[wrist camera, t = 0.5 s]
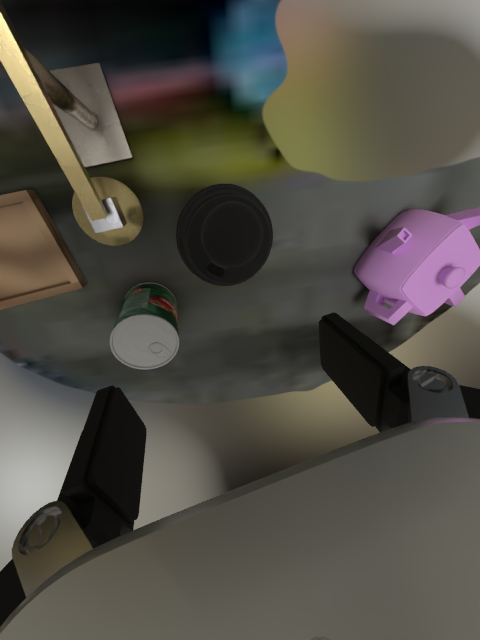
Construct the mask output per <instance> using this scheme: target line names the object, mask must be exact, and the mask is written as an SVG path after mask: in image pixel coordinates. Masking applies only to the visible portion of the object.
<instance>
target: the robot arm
mask: <svg viewBox="0 0 480 640" xmlns="http://www.w3.org/2000/svg"><path fill="white" fill-rule="evenodd" d="M319 337H320V358H321V366H322V368H323V370H324V371H325V372H326V373H327V375H328V376H329V377H330V378H331V379H332V381H333V382H334V383H335V384H336V385H337V386H338V388H339V389H340V390H341V391H342V392H343V394H344V395H345V396H346V397H347V398H348V400H349V401H350V402H351V403H352V404H353V406H354V407H355V408H356V409H357V410H358V411H359V413H360V414H361V415H362V416H363V418H365V420H366V421H367V422H368V424H370V425H371V426H372V427H374V426H375V427H376V428H377V429H378V430H379V432H380V433H378V434H376V435H373V436H370V437H367V438H364V439H362V440H359V441H356V442H354V443H351V444H349V445H346V446H344V447H341V448H338V449H336V450H333V451H331V452H328V453H326V454H323V455H320V456H318V457H315V458H313V459H310V460H308V461H305V462H303V463H300V464H297V465H295V466H292V467H290V468H287V469H285V470H282V471H280V472H277V473H275V474H272V475H270V476H267V477H265V478H262V479H260V480H257V481H255V482H252V483H249V484H247V485H244V486H242V487H239V488H237V489H234V490H232V491H230V492H227V493H224V494H222V495H220V496H217V497H215V498H212V499H209V500H207V501H204V502H202V503H199V504H197V505H194V506H192V507H189V508H187V509H184V510H182V511H179V512H177V513H174V514H172V515H170V516H167V517H164V518H162V519H160V520H157V521H155V522H152V523H150V524H148V525H145V526H143V527H141V528H138V529H136V530H133V525H134V520H136V519H137V518H138V514H139V504H140V494H141V484H142V474H143V463H144V453H145V443H146V427H145V425H144V423H143V422H142V420H141V419H140V417H139V416H138V415H137V413H136V411H135V410H134V408H133V407H132V406H131V404H130V402H129V401H128V399H127V398H126V396H125V395H124V393H123V392H122V391H121V389H120V388H119V387H117V388H115V387H114V386H109V387H106V388H103V389H100V390H98V391H97V393H96V396H95V398H94V401H93V404H92V407H91V410H90V413H89V415H88V418H87V421H86V424H85V426H84V429H83V431H82V433H81V436H80V439H79V441H78V444H77V447H76V450H75V453H74V455H73V458H72V461H71V464H70V467H69V469H68V472H67V475H66V478H65V480H64V483H63V486H62V489H61V492H60V494H59V497H58V500H57V501H54V502H51V503H48V504H46V505H45V506H43V507H42V508H40V509H39V510H38V511H36V512H35V513H34V514H33V515H32V516H31V517H30V518H29V519H28V520H27V521H26V522H25V524H24V525H23V527H22V528H21V530H20V531H19V533H18V535H17V537H16V539H15V541H14V544H13V548H12V558H13V559H12V560H11V561H10V562H9V563H8V564H7V565H6V566H5V567H4V568H3V569H2V570H1V572H0V640H480V389H475V388H471V387H466V386H461V385H459V384H458V382H457V380H456V379H455V378H454V377H453V376H452V375H451V374H449V373H447V372H446V371H444V370H441V369H439V368H435V367H431V366H420V367H415V368H413V369H409V368H408V367H407V366H405V365H404V364H403V363H401V362H400V361H399V360H397V359H396V358H395V357H393V356H392V355H391V354H389V353H388V352H387V351H386V350H384V349H383V348H382V347H380V346H379V345H378V344H376V343H375V342H374V341H372V340H371V339H370V338H369V337H367V336H366V335H364V334H363V333H361V332H360V331H359V330H357V329H356V328H355V327H354V326H352V325H351V324H350V323H348V322H347V321H346V320H344V319H343V318H342V317H340V316H339V315H338V314H336V313H331V314H328V315H325V316H323V317H322V319H321V320H320V321H319Z"/></svg>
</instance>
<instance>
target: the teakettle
mask: <svg viewBox="0 0 480 640" xmlns="http://www.w3.org/2000/svg"><path fill="white" fill-rule="evenodd" d="M478 225H480V207H477V208H473V209H469V210H465V211H461V212H457V213H453V214H448V215H442V214H439V213H435V212H431V211H426V210H420V209H412V210H407V211H404V212H402V213H400V214H399V215H398V216H397V217H396V218H394V219H393V220H392V221H391V222H390V223H389V224H388V225H387V226H386V227H385V229H384V230H383V231H382V232H381V233H380V234H379V235H378V236H377V237H376V238H375V239H374V241H373V242H372V243H371V244H370V246H369V247H368V248H367V250H366V251H365V252H364V254H363V255H362V256H361V258H360V259H359V261H358V262H357V264H356V265H355V267H354V270H353V272H354V273H355V275H356V276H357V277H358V279H359V280H360V281H361V282H362V283H363V284H364V285H365V286H366V287H367V288H368V289H369V290H370V291H369V293H368V296H367V299H366V302H365V305H364V309H365V310H366V311H367V312H368V313H369V314H371V315H373V316H376V317H378V318H380V319H382V320H384V321H386V322H388V323H390V324H392V325H395V324H396V323H397V322H398V321H399V320H400V319H401V318H402V317H403V316H404V315H405V314H406V313H408V312H410V313H414V314H418V315H422V316H427V315H429V314H431V313H432V312H434V311H435V310H436V309H437V308H438V307H439V306H441V305H442V304H443V303H447V304H449V305H452V306H454V307H455V306H456V305H457V304H459V303H460V302H461V301H462V300H463V299H464V298H465V295H464V294H463V292H462V290H461V289H460V287H461V286H462V285H463V284H464V282H465V281H466V280H467V279H468V278H469V277H470V276H471V275H472V274H473V273H474V272H475V271H476V269H477V268H478V267H479V266H480V249H479V247H478V246H477V244H476V242H475V240H474V238H473V237H472V235H471V233H470V231H469V229H472V228H474V227H476V226H478ZM384 302H385V303H387V304H389V305H391V306H393V307H392V308H391V309H390V310H389V309H387V308H385V307H384V306H383V303H384Z"/></svg>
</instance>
